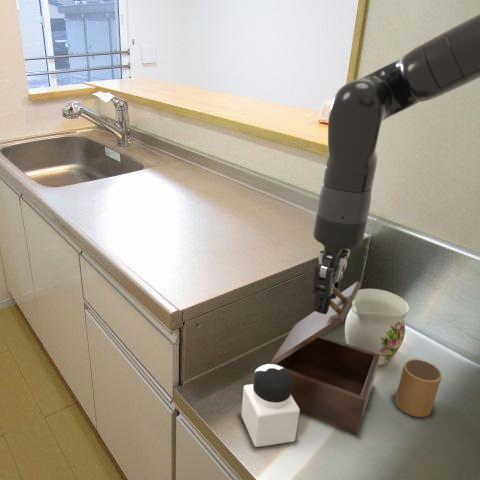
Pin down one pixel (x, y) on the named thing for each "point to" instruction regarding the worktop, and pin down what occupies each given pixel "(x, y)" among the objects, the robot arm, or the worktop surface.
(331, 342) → the chest
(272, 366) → the medicine bottle
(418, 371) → the tan cylinder
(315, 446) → the worktop surface
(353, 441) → the worktop surface
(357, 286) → the lid
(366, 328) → the pitcher
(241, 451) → the worktop surface
